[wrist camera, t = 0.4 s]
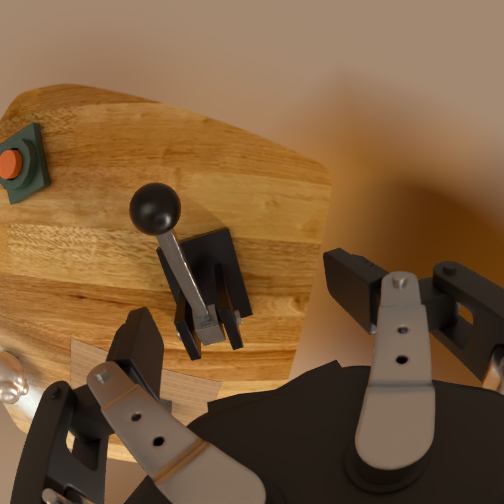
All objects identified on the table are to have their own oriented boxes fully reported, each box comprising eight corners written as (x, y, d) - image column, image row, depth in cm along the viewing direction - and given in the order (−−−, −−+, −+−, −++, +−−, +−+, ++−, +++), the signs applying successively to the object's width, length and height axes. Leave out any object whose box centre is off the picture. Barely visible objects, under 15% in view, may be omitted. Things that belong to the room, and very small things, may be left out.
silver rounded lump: (28, 388, 35) (10, 421, 26) (-5, 356, 32) (-28, 385, 23) (41, 370, 35) (20, 406, 25) (5, 333, 32) (-22, 364, 22)
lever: (125, 183, 16) (117, 209, 14) (172, 167, 16) (172, 191, 14) (194, 323, 27) (199, 350, 24) (225, 315, 27) (232, 342, 25)
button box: (5, 145, 24) (-9, 145, 21) (39, 123, 25) (25, 120, 22) (16, 203, 27) (3, 206, 24) (50, 184, 28) (37, 186, 25)
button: (3, 157, 22) (-5, 157, 21) (20, 145, 23) (13, 144, 21) (7, 182, 24) (0, 183, 22) (25, 171, 24) (17, 171, 22)
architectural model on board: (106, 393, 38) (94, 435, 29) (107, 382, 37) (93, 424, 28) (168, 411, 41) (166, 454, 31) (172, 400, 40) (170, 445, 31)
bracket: (157, 247, 33) (135, 289, 21) (227, 226, 34) (241, 257, 22) (188, 327, 37) (186, 392, 25) (251, 310, 37) (273, 370, 25)
